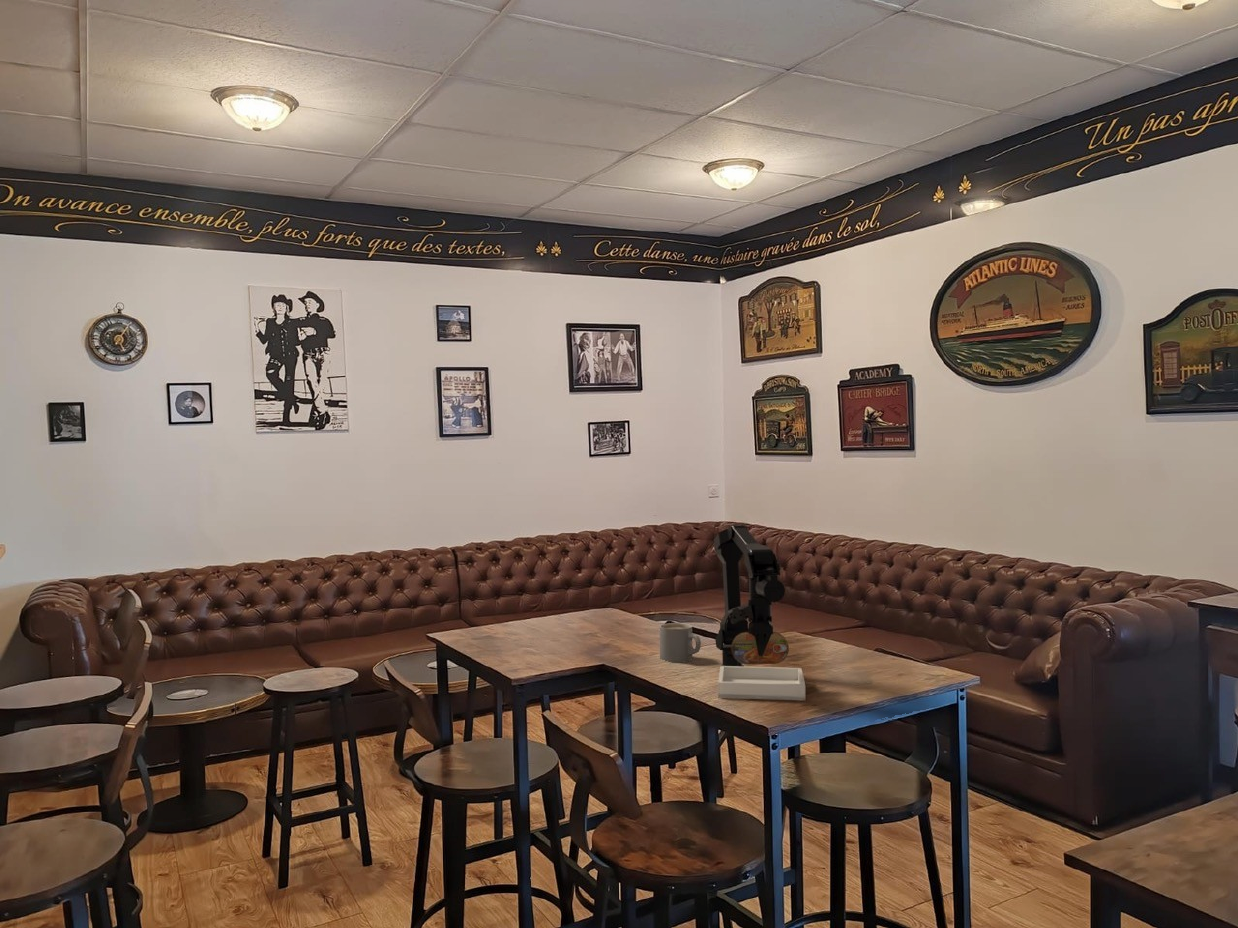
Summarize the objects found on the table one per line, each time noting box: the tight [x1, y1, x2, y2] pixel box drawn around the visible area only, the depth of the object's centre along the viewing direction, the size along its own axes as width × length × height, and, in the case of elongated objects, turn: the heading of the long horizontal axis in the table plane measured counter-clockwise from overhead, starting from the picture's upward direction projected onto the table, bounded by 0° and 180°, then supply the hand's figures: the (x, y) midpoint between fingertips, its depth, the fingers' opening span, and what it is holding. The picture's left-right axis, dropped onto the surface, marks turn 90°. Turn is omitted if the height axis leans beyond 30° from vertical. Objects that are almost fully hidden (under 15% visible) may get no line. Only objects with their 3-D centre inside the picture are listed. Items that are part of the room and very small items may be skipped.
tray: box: [717, 665, 806, 701], centre depth 240 cm, size 18×22×4 cm
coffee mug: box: [659, 622, 702, 663], centre depth 276 cm, size 13×10×10 cm
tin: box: [731, 631, 790, 665], centre depth 240 cm, size 15×3×8 cm, turn 82°
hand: (760, 654), depth 240 cm, fingers closed on tin, 2 cm apart
